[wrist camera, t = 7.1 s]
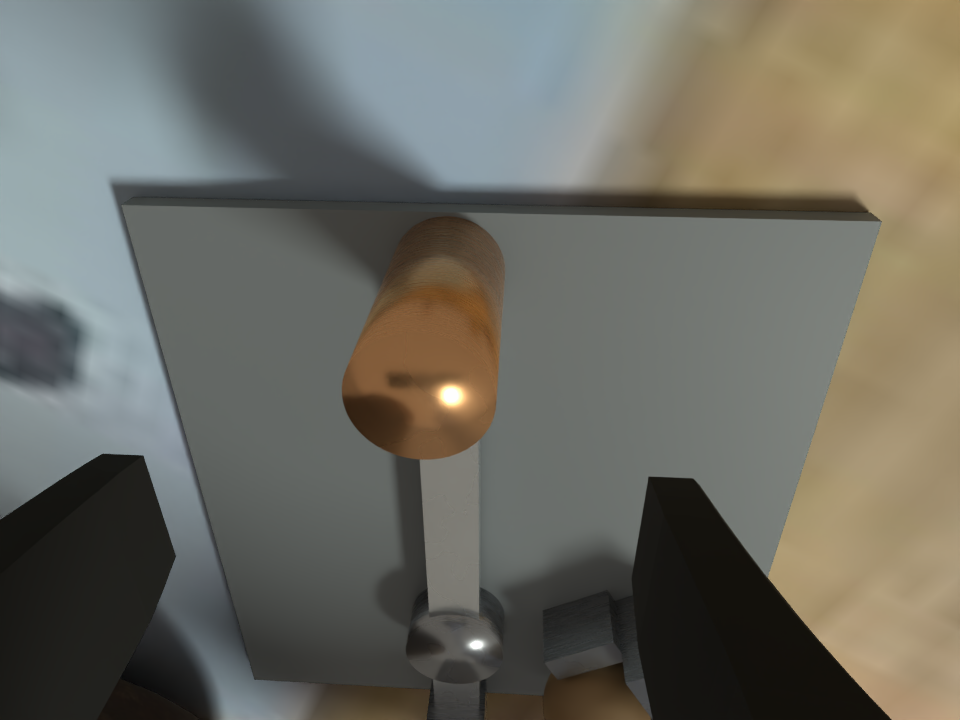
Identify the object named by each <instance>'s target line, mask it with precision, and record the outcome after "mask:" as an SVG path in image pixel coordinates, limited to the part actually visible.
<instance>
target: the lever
mask: <svg viewBox="0 0 960 720" xmlns="http://www.w3.org/2000/svg"><path fill="white" fill-rule="evenodd" d="M504 283H505V262H504V258H503V255H502V252H501V250H500V248H499V246H498V244H497V243H496V241H495V240H494V238H493V237H492V236H491V235H490V234H489V233H488V232H487V231H486V230H484V229H483V228H482V227H480V226H479V225H477V224H475V223H473V222H471V221H469V220H466V219H463V218H458V217H451V216H442V217H435V218H430V219H427V220H424V221H422V222H420V223H418V224H417V225H415V226H414V227H412V228H411V229H410V230H409V231H407V233H406V234H405V235H404V236H403V237H402V239H401V240H400V242H399V244H398V246H397V248H396V250H395V253H394V255H393V257H392V260H391V262H390V265H389V267H388V269H387V272H386V274H385V277H384V279H383V282H382V284H381V286H380V289H379V291H378V294H377V296H376V298H375V301H374V303H373V306H372V308H371V310H370V313H369V315H368V318H367V320H366V322H365V325H364V327H363V330H362V332H361V334H360V337H359V339H358V342H357V344H356V346H355V349H354V351H353V354H352V356H351V358H350V361H349V363H348V366H347V368H346V370H345V373H344V377H343V380H342V399H343V404H344V407H345V410H346V413H347V415H348V417H349V419H350V420H351V422H352V423H353V425H354V426H355V428H356V429H357V430H358V431H359V432H360V433H361V434H362V435H363V436H364V437H365V438H366V439H368V440H369V441H370V442H371V443H373V444H374V445H376V446H377V447H379V448H381V449H383V450H385V451H387V452H390V453H392V454H395V455H398V456H402V457H406V458H411V459H420V473H421V489H422V505H423V522H424V538H425V554H426V571H427V587H428V589H426V590H424V591H423V592H422V593H420V594H419V595H418V597H417V598H416V600H415V602H414V604H413V609H412V615H411V621H410V627H409V632H408V638H407V644H406V655H407V658H408V660H409V662H410V664H411V665H412V666H413V667H414V668H415V669H416V670H417V671H418V672H420V673H421V674H423V675H425V676H427V677H429V678H431V679H432V682H431V690H430V698H429V705H428V713H427V720H486V706H487V678H488V677H490V676H491V675H493V674H494V673H495V672H496V671H497V670H498V669H499V668H500V666H501V664H502V661H503V643H504V609H503V607H502V605H501V603H500V602H499V600H498V599H497V598H496V597H495V596H494V595H493V594H491V593H490V592H488V591H487V590H485V589H483V588H481V587H480V439H481V438H482V437H483V435H484V434H485V433H486V432H487V430H488V429H489V427H490V425H491V423H492V421H493V418H494V415H495V411H496V400H497V386H498V371H499V356H500V342H501V327H502V312H503V298H504Z"/></svg>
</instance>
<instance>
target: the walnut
mask: <svg viewBox="0 0 960 720" xmlns="http://www.w3.org/2000/svg"><path fill="white" fill-rule="evenodd" d="M543 712H544V718H545V720H651V717H650V716H649V714H648V713H647V712H646V710H645V709H644V708H643V706H642V705H641V703H640V702H639V701H638V699H637V698H636V697H635V695H634V694H633V693H632V691H631V690H630V689H629V687H628V686H627V685H626V683H625V676H624V668H623V662H621V663H617V664H614V665H610V666H607V667H603V668H600V669H596V670H592V671H589V672H585V673H582V674H578V675H575V676H571V677H568V678H564V679H561V680H557V678H556V677H555V676H554V675H553V673H552V672H551V674H550V676H549V678H548V680H547V683H546V686H545V690H544V695H543Z"/></svg>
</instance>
